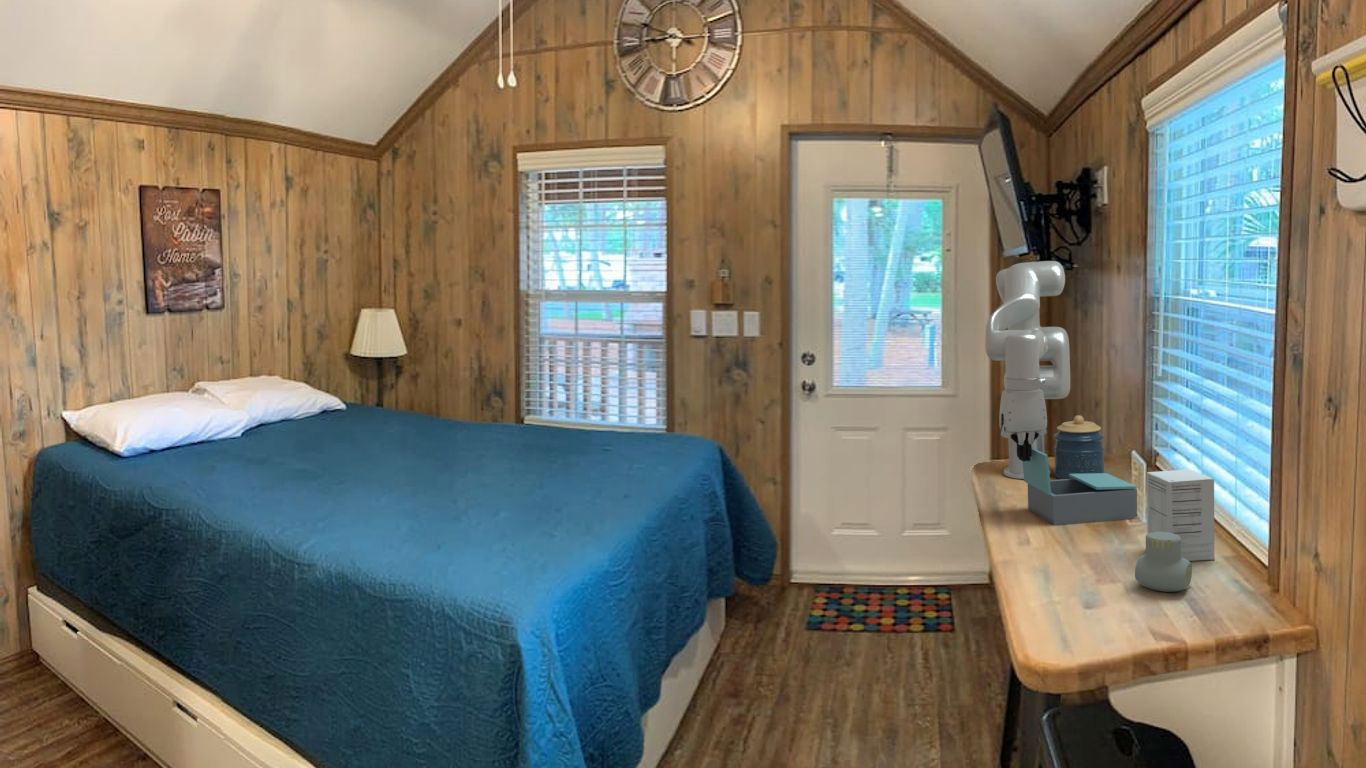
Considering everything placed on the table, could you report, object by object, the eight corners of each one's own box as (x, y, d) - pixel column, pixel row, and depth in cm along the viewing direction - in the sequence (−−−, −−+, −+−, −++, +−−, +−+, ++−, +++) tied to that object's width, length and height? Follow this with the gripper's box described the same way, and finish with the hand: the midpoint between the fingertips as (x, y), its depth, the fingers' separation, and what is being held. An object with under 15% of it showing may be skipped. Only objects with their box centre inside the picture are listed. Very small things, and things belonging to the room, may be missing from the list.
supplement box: (1216, 560, 176) (1216, 479, 174) (1169, 563, 177) (1169, 482, 174) (1189, 545, 186) (1189, 468, 184) (1145, 548, 186) (1145, 471, 184)
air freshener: (1145, 574, 172) (1145, 525, 170) (1193, 581, 166) (1193, 530, 165) (1132, 592, 163) (1132, 541, 162) (1182, 600, 158) (1182, 547, 157)
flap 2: (1068, 476, 219) (1069, 473, 218) (1106, 475, 219) (1106, 473, 219) (1096, 489, 205) (1096, 487, 205) (1136, 488, 205) (1136, 486, 205)
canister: (1057, 482, 242) (1056, 420, 239) (1052, 471, 254) (1050, 411, 252) (1108, 482, 238) (1108, 419, 236) (1100, 471, 250) (1100, 410, 248)
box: (1028, 509, 219) (1027, 482, 219) (1106, 502, 220) (1106, 475, 219) (1053, 525, 206) (1053, 496, 205) (1137, 518, 206) (1136, 489, 205)
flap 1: (1026, 480, 218) (1024, 481, 218) (1022, 443, 217) (1020, 443, 217) (1051, 494, 205) (1048, 495, 205) (1047, 454, 204) (1045, 455, 204)
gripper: (1046, 380, 212) (1048, 454, 214) (985, 385, 212) (987, 459, 214) (1060, 384, 205) (1062, 461, 207) (997, 389, 205) (999, 465, 207)
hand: (1024, 459), depth 211 cm, fingers closed
